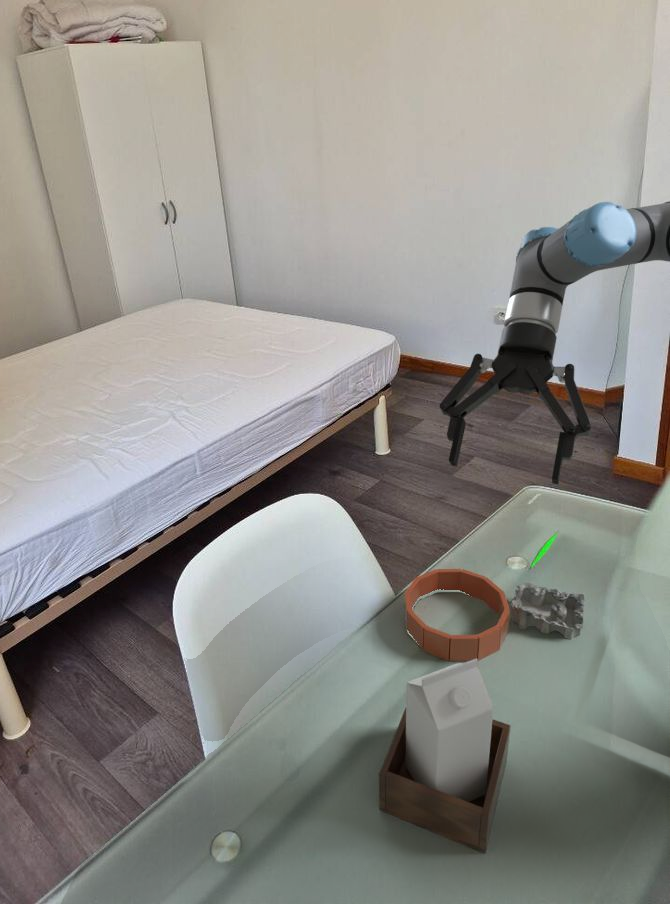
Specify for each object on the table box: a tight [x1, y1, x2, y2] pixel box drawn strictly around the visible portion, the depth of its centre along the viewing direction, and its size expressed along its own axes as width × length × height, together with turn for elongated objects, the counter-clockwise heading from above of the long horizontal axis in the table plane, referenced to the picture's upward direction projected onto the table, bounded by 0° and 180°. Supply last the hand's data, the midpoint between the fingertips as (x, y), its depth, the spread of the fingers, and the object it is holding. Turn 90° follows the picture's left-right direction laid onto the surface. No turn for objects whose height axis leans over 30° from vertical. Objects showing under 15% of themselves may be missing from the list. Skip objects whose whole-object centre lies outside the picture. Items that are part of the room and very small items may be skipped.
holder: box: [378, 707, 512, 854], centre depth 83 cm, size 13×13×7 cm
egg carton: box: [510, 582, 585, 640], centre depth 108 cm, size 11×8×4 cm
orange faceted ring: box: [404, 568, 511, 662], centre depth 108 cm, size 16×16×4 cm
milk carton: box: [405, 658, 494, 802], centre depth 81 cm, size 7×7×19 cm
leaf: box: [528, 533, 557, 571], centre depth 124 cm, size 1×14×1 cm, turn 140°
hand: (502, 472), depth 93 cm, fingers open, 13 cm apart
